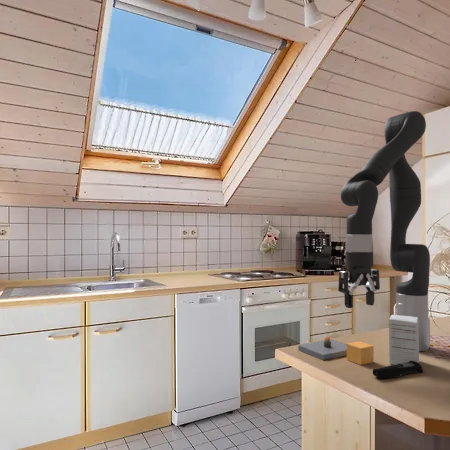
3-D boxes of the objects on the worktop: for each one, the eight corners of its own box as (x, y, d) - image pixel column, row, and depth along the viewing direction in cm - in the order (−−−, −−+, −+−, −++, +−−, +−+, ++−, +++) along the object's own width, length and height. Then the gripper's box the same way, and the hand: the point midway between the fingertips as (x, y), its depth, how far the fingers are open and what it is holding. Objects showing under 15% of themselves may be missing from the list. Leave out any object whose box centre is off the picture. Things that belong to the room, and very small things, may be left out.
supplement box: (391, 356, 113) (391, 314, 113) (419, 360, 109) (419, 316, 109) (388, 364, 106) (388, 319, 107) (418, 368, 103) (417, 322, 103)
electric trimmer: (368, 378, 97) (368, 366, 97) (412, 369, 103) (412, 357, 103) (379, 383, 94) (379, 370, 94) (424, 374, 100) (424, 362, 100)
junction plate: (331, 343, 126) (331, 330, 126) (357, 352, 116) (357, 338, 116) (298, 349, 119) (298, 335, 119) (322, 360, 110) (322, 344, 110)
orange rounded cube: (359, 356, 113) (359, 341, 113) (373, 362, 108) (373, 345, 108) (346, 359, 110) (346, 343, 110) (360, 365, 106) (360, 348, 106)
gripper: (366, 249, 117) (366, 302, 116) (331, 250, 110) (331, 306, 109) (386, 250, 110) (387, 306, 110) (351, 251, 103) (352, 311, 103)
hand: (359, 306), depth 109 cm, fingers open, 8 cm apart
